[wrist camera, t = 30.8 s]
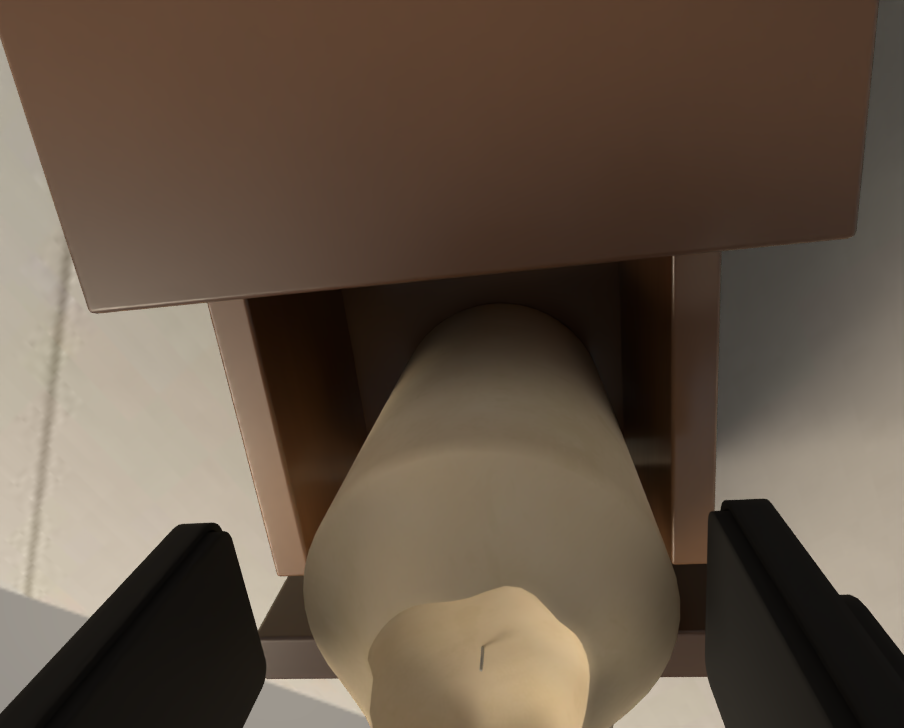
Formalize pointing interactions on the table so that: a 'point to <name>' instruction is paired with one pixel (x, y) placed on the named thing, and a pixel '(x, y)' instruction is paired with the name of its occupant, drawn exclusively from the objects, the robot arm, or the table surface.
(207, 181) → the cabinet
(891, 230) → the table surface
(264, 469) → the drawer
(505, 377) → the candle
